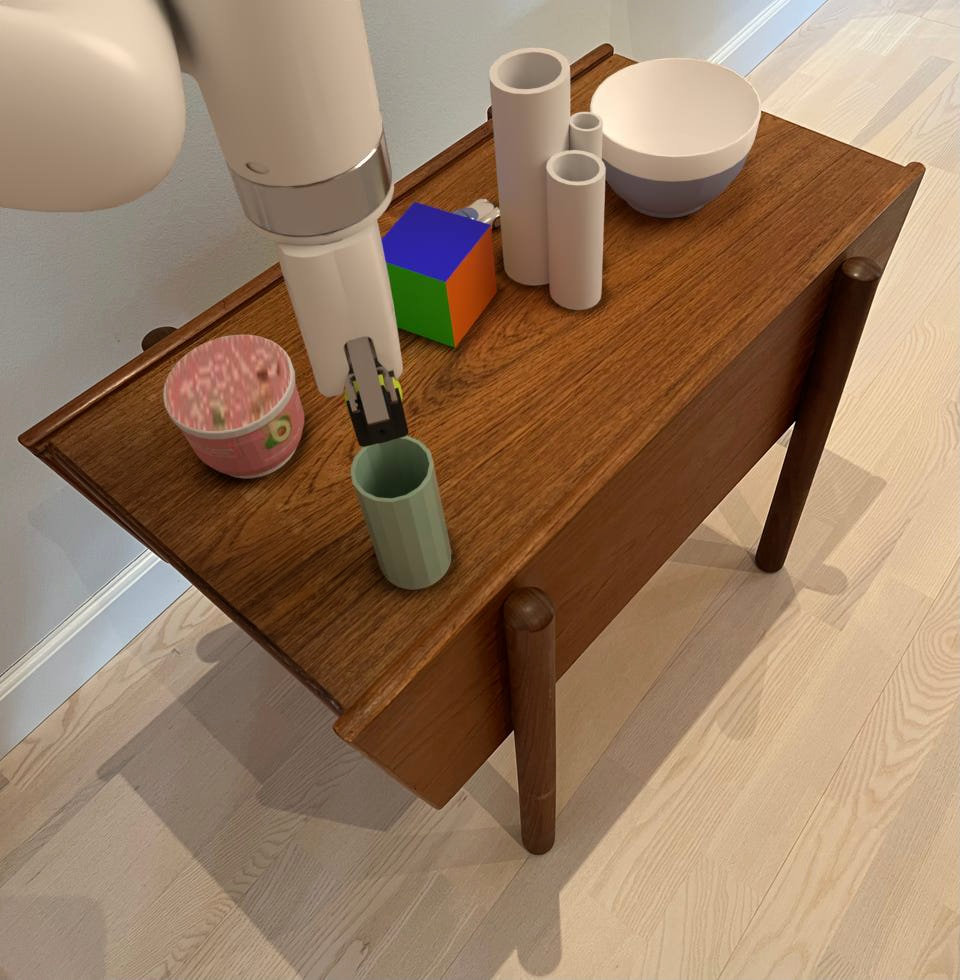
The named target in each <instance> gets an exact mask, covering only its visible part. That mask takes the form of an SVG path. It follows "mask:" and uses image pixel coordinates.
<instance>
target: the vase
mask: <svg viewBox="0 0 960 980" xmlns="http://www.w3.org/2000/svg"><path fill="white" fill-rule="evenodd" d="M488 80H489V90H490V91H489V92H490V93H489V94H490V105H491V116H492V117H491V118H492V130H493V143H494V155H495V156H494V157H495V168H496V182H497V193H498V208H500V221H501V226H500V232H501V233H500V234H501V245H502V257H503V268H504V271H505V273H506V274H507V276H508V277H509V278H510V279H511V280H513V281H514V282H516V283H519V284H521V285H524V286H543V285H544V286H545V285H548V286H549V294H550V298H551V299H552V300H553V302H555V303H556V304H557V305H559V306H560V307H562V308H565V309H568V310H574V311H582V310H583V311H584V310H588V309H591V308H593V307H595V306H597V304H598V303H599V302H600V300H601V299H602V290H603V263H604V262H603V259H604V258H603V257H604V253H603V252H604V231H605V229H604V228H605V227H604V226H605V199H606V197H605V196H606V194H605V193H606V179H605V172H606V168H605V165H604V162H603V161H602V134H603V121H602V118H601V117H600V116H598V115H597V114H594V113H591V112H590V111H578V112H576V113H574V114H572V115H571V66H570V61H569V60H568V59H567V58H566V57H565V55H564V54H562V53H560V52H558V51H556V50H554V49H549V48H545V47H525V48H519V49H515V50H512V51H509V52H507V53H504V54H503V55H501V56H500V57H498V58H497V59H496V60H495V61H494V62H493V63H492V64H491V66H490V69H489V71H488Z"/></svg>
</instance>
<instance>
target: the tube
mask: <svg viewBox="0 0 960 980" xmlns="http://www.w3.org/2000/svg"><path fill="white" fill-rule="evenodd" d="M349 472H350V473H349V474H350V477H351V482H352V486H353V489H354V491H355V496H356V498H357V501H358V504H359V507H360V510H361V513H362V517H363V519H364V522H365V525H366V528H367V531H368V534H369V538H370V541H371V544H372V546H373V549H374V553H375V556H376V559H377V562H378V564H379V568H380V570H381V572H382V574H383V576H384V577H385V579H386V580H387V581H388V582H389V583H391V584H392V585H394V586H396V587H398V588H401V589H404V590H413V591H415V590H421V589H425V588H428V587H430V586H433V585H435V584H437V582H439V581H441V580H442V578H443V577H444V576H445V575H446V573H447V572H448V570H449V568H450V566H451V562H452V546H451V541H450V538H449V533H448V528H447V523H446V518H445V514H444V513H445V512H444V507H443V502H442V498H441V493H440V488H439V483H438V478H437V473H436V468H435V462H434V459H433V456H432V452H431V450H430V449H429V448H428V447H427V446H426V445H425V444H424V443H423V442H422V441H421V440H419V439H416V438H414V437H412V436H410V435H407V436H405V437H402V438H398V439H394V440H391V441H388V442H384V443H380V444H374V445H370V446H366V447H361V448H360V450H359V451H358V452H357V453H356V455H355V456H354V457H353V459H352V462H351V467H350V471H349Z"/></svg>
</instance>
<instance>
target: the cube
mask: <svg viewBox="0 0 960 980" xmlns="http://www.w3.org/2000/svg"><path fill="white" fill-rule="evenodd" d="M492 230H493V228H492V229H491V225H490V224H487V223H483V222H480V221H477V220H473V219H470V218H467V217H463V216H460V215H457V214H454V213H452V212H450V211H447V210H443V209H440V208H437V207H434V206H430V205H427V204H425V203H421V202H417V201H413V203H411V205H410V206H409V207H408V208H407V209H406V210H405V212H404V213H403V214H402V215H401V216H400V218H399V219H398V220H396V222H395V223H394V224H393V225H392V227H391V228H390V229H389V230H388V231H387V232H386V234H384V236H383V237H381V241H382V246H383V251H384V256H385V261H386V266H387V271H388V276H389V282H390V287H391V293H392V299H393V304H394V311H395V317H396V323H397V329H401V330H404V331H407V332H409V333H411V334H415V335H417V336H420V337H423V338H426V339H429V340H431V341H435V342H437V343H440V344H443V345H446V346H449V347H452V348H454V349H456V348H457V347H458V345H459V344H460V343H461V341H462V340H463V338H464V337H465V336H466V334H468V332H469V330H470V329H471V328H472V326H473V325H474V324H475V322H476V321H477V319H478V318H479V317H480V316H481V314H482V313H483V312H484V310H485V309H486V308H487V306H488V305H489V304H490V302H491V301H492V300H493V298H494V297H495V296H496V294H497V293H498V289H497V288H498V286H497V276H496V266H495V254H494V242H493V231H492Z"/></svg>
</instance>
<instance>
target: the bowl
mask: <svg viewBox="0 0 960 980" xmlns="http://www.w3.org/2000/svg"><path fill="white" fill-rule="evenodd" d="M589 112H591V113H594V114H597V115H598V116H600V117H601V118H602V121H603V134H602V161H603V162H604V165H605V168H606V172H605V181H607V184H608V185H609V187H610V188H611V189H612V191H613V192H614V193H615V194H616V195H617V196H619V197H620V198H621V199H622V200H624V201H625V202H626V203H627V205H629V207H631V208H632V209H633V210H635V211H636V212H639V213H640V214H642V215H643V214H644V215H646V216H650V217H654V218H659V219H660V218H661V219H672V218H673V219H674V218H680V217H686V216H688V215H691V214H693V213H695V212H697V211H699V210H700V209H702V208H703V207H704V206H705V205H706V204H709V203H710V202H712V201H715V199H717V198H718V197H719V196H720V195H722V194H723V193H724V192H725V190H726V189H727V188H728V187H729V186H730V185H731V184H732V182H734V180H735V179H736V178H737V177H738V175H739V174H740V173H741V172H742V170H743V168H744V166H745V163H746V161H747V159H748V156H749V154H750V151H751V149H752V147H753V145H754V142H755V140H756V137H757V136H756V135H757V131H758V129H759V124H760V120H761V116H762V103H761V99H760V95H759V93H758V92H757V90H756V89H755V86H754V85H753V84H752V83H751V82H750V81H749V80H748V79H746V77H744V76H743V75H741V74H739V73H738V72H736V71H735V70H733V69H731V68H728V67H726V66H725V65H722V64H719V63H715V62H711V61H708V60H702V59H695V58H688V57H687V58H685V57H668V58H667V57H666V58H656V59H650V60H644V61H640V62H638V63H634V64H631V65H629V66H625V67H624V68H621V69H619V70H617V71H615V72H614V73H612V74H611V75H610V76H608V77H607V78H605V79H604V80H603V81H602V82H601V83H600V84H599V85H598V87H597V88H596V89H595V91H594V93H593V94H592V96H591V100H590V103H589Z"/></svg>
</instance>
